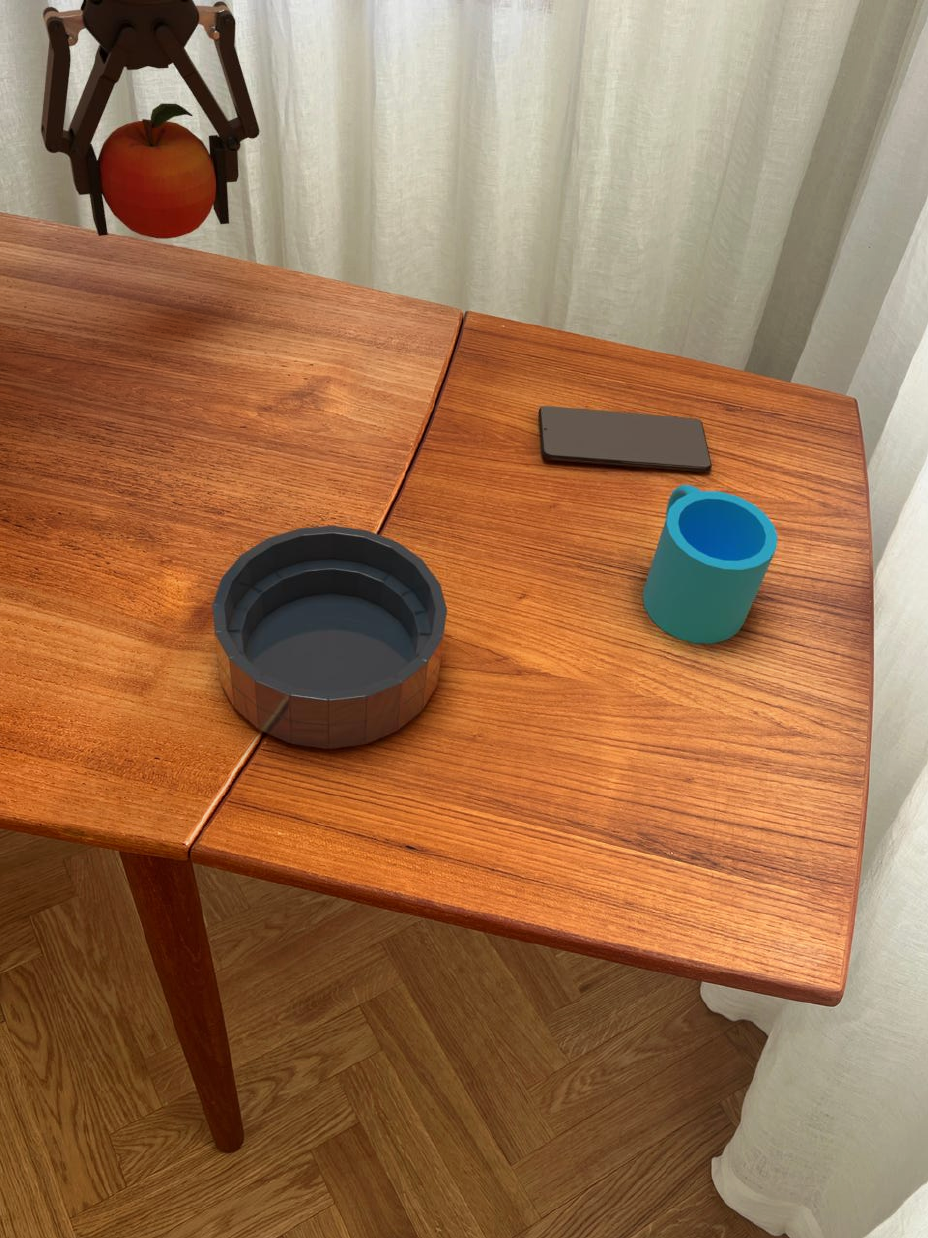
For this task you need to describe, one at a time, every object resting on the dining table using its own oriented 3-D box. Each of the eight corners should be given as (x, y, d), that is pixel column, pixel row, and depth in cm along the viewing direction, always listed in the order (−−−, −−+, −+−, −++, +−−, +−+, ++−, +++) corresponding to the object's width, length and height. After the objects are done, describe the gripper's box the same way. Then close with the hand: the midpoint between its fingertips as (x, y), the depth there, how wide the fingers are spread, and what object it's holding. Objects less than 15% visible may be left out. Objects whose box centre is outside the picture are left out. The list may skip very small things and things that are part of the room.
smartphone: (713, 467, 96) (543, 454, 95) (710, 475, 97) (541, 462, 96) (701, 417, 101) (538, 403, 100) (699, 425, 102) (537, 411, 100)
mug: (761, 638, 85) (795, 565, 79) (661, 648, 83) (687, 574, 77) (708, 529, 93) (735, 453, 86) (615, 536, 91) (636, 460, 85)
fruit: (86, 209, 96) (68, 92, 88) (190, 189, 100) (181, 75, 92) (130, 266, 91) (115, 146, 83) (237, 242, 95) (232, 126, 87)
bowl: (175, 699, 76) (166, 643, 72) (289, 555, 86) (287, 498, 82) (379, 787, 73) (382, 735, 69) (473, 628, 83) (481, 573, 78)
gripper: (-31, -51, 73) (31, 258, 89) (299, -56, 80) (300, 231, 96) (-42, -91, 77) (20, 210, 94) (272, -93, 84) (277, 188, 101)
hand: (161, 221), depth 95 cm, fingers closed on fruit, 9 cm apart
